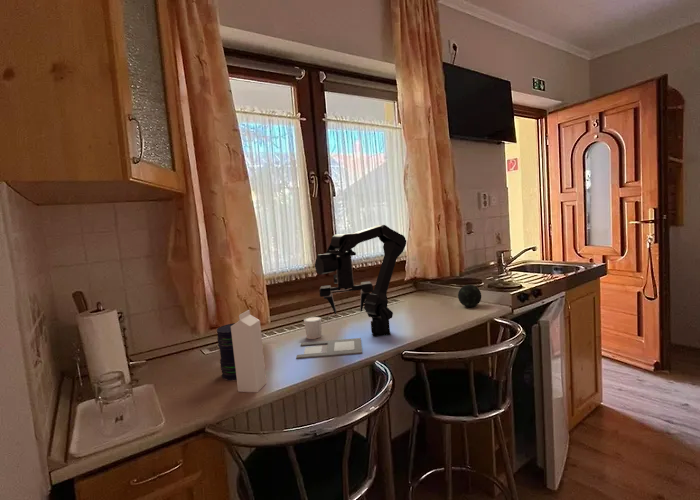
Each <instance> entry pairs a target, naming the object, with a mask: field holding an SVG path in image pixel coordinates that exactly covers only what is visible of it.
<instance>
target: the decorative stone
mask: <svg viewBox="0 0 700 500" xmlns="http://www.w3.org/2000/svg"><path fill="white" fill-rule="evenodd" d="M457 298H458V301H459V303H460V304H461V305H462V306H464V307H467V308H474V307H477V305H479V304H480V302H481V301H482V293H481V290H480V288H478V287H477V286H476V285H473V284H466V285H463V286H462V287H461V288H460V289H459V291H458V292H457Z"/></svg>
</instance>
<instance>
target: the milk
mask: <svg viewBox="0 0 700 500" xmlns="http://www.w3.org/2000/svg"><path fill="white" fill-rule="evenodd" d="M238 318H239V320H238V321H237V322H234V323H235V324H233V323H232V324H233V325H232V326H231V333H232V342H233V351H234V360H235V368H236V377H237V380H236V386H237V391H238V393H258V392H260V390H261V389H262V388H263V387H265V385H267V377H266V374H267V372H266V366H265V356H264V347H263V336H262V329H261V320H260V319H258V318H257V317H255V316H254V315H252V314H251V310H250V309H247V310H246V311H244V312H242V313H240V314H239V315H238Z"/></svg>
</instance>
